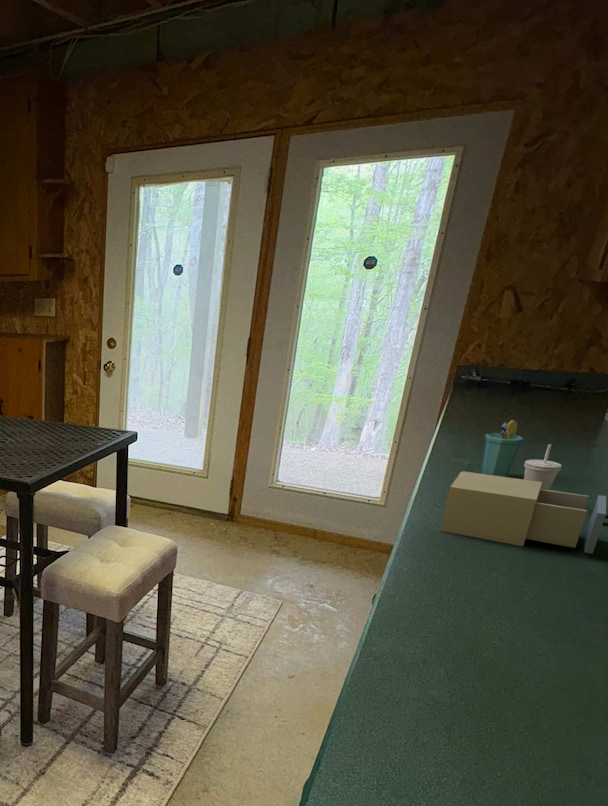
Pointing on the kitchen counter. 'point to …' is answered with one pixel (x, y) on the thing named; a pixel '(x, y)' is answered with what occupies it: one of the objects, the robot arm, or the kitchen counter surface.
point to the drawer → (566, 519)
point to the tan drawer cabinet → (490, 507)
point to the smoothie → (542, 470)
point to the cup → (501, 450)
